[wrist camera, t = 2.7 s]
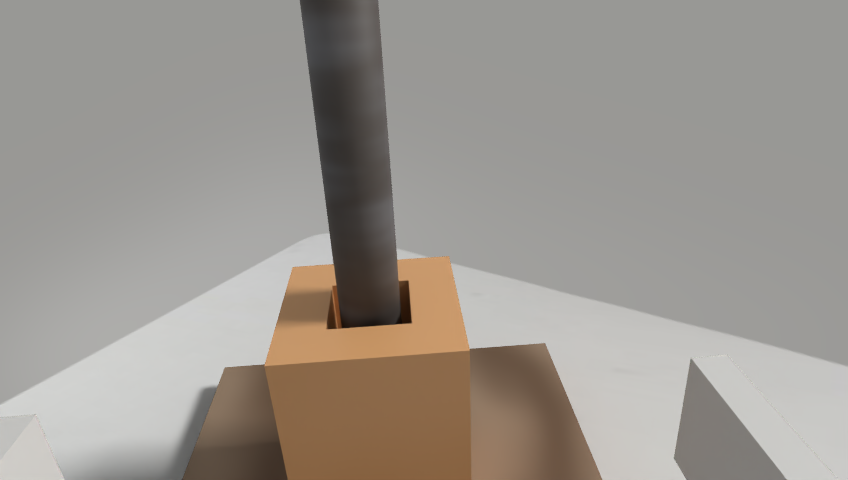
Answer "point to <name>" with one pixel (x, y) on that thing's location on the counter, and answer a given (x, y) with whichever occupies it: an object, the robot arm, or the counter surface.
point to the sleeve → (372, 381)
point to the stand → (385, 288)
